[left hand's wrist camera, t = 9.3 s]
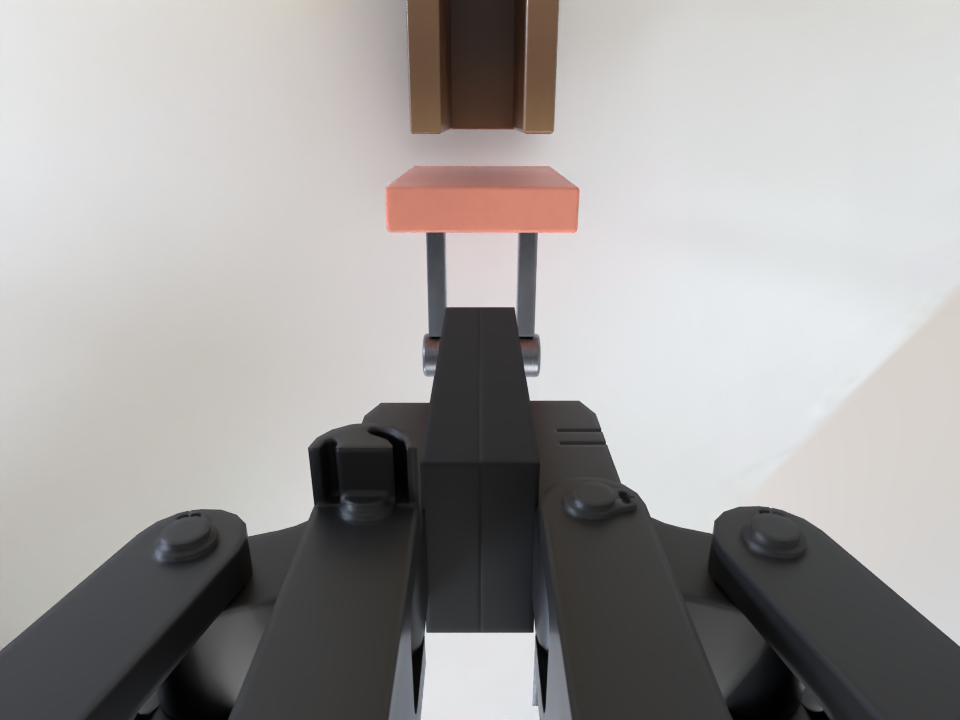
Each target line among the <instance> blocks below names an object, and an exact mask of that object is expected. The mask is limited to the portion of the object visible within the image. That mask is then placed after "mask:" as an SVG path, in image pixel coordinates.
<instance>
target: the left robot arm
mask: <svg viewBox="0 0 960 720" xmlns="http://www.w3.org/2000/svg"><path fill="white" fill-rule="evenodd" d="M308 451H309V460H310V469H311V478H312V487H313V496H314V508H313V510H312V513H311V515H310V518H309V520H308V521H306V522H304V523H301V524H299V525H297V526H294V527H290V528H286V529H283V530H279V531H274V532H269V533H264V534H259V535H254V536H249V537H248V535H247V529H246V524H245V523H244V522H243V521H242V520H241V519H240V518H239V517H238V516H237V515H236V514H232V513H229V512H226V511H223V510H209V509H200V510H191V511H186V512H182V513H178V514H175V515H173V516H171V517H168V518H166V519H163V520H160V521H158V522H156V523H154V524H153V525H151V526H150V527H148V528H147V529H145V530H144V531H142V532H141V533H139V534H138V535H137V536H135V537H134V538H133V539H132V540H131V541H130V542H128V543H127V544H126V545H125V546H124V547H122V548H121V549H120V550H119V551H118V552H117V553H115V554H114V555H113V556H112V557H111V558H110V559H108V560H107V561H106V562H105V563H104V564H102V565H101V566H100V567H99V568H98V569H97V570H95V571H94V572H93V573H92V574H91V575H89V576H88V577H87V578H86V579H85V580H84V581H82V582H81V583H80V584H79V585H78V586H77V587H75V588H74V589H73V590H72V591H71V592H69V593H68V594H67V595H66V596H65V597H64V598H62V599H61V600H60V601H59V602H58V603H57V604H55V605H54V606H53V607H52V608H51V609H49V610H48V611H47V612H46V613H45V614H44V615H42V616H41V617H40V618H39V619H38V620H37V621H35V622H34V623H33V624H32V625H31V626H29V627H28V628H27V629H26V630H25V631H24V632H22V633H21V634H20V635H19V636H18V637H16V638H15V639H14V640H13V641H12V642H11V643H9V644H8V645H7V646H6V647H5V648H4V649H2V650H1V651H0V720H420V718H421V708H422V697H423V686H424V675H425V665H426V661H425V636H424V633H425V624H426V631H427V633H533V631H534V620H535V630H536V636H535V661H534V686H533V706H538V707H539V717H540V720H960V646H958V645H957V644H956V643H955V642H954V641H953V640H951V639H950V638H949V637H948V636H947V635H945V634H944V633H943V632H942V631H941V630H939V629H938V628H937V627H936V626H935V625H934V624H932V623H931V622H930V621H929V620H928V619H926V618H925V617H924V616H923V615H922V614H920V613H919V612H918V611H917V610H916V609H915V608H913V607H912V606H911V605H910V604H909V603H907V602H906V601H905V600H904V599H903V598H901V597H900V596H899V595H898V594H897V593H896V592H894V591H893V590H892V589H891V588H890V587H888V586H887V585H886V584H885V583H884V582H882V581H881V580H880V579H879V578H878V577H877V576H875V575H874V574H873V573H872V572H871V571H869V570H868V569H867V568H866V567H865V566H863V565H862V564H861V563H860V562H859V561H857V560H856V559H855V558H854V557H853V556H852V555H850V554H849V553H848V552H847V551H846V550H844V549H843V548H842V547H841V546H840V545H839V544H837V543H836V542H835V541H834V540H833V539H831V538H830V537H829V536H828V535H827V534H825V533H824V532H823V531H822V530H820V529H819V528H817V527H816V526H814V525H812V524H811V523H809V522H808V521H806V520H805V519H803V518H800V517H798V516H795V515H792V514H790V513H787V512H785V511H783V510H779V509H775V508H772V509H771V508H769V507H761V506H753V507H737V508H734V509H731V510H728V511H725V512H723V513H722V514H721V515H720V516H719V517H718V518H717V519H716V520H715V522H714V529H713V534H710V533H705V532H700V531H695V530H690V529H685V528H680V527H677V526H673V525H669V524H666V523H663V522H661V521H658V520H656V519H654V518H651V517H650V514H649V512H648V509H647V507H646V504H645V503H644V502H643V500H642V499H641V498H640V496H639V495H638V494H637V493H636V492H634V491H633V490H631V489H629V488H628V487H626V486H625V485H623V484H621V482H620V479H619V476H618V474H617V471H616V468H615V466H614V463H613V460H612V457H611V455H610V452H609V449H608V446H607V445H606V441H605V438H604V436H603V433H602V432H601V427H600V425H599V422H598V419H597V417H596V414H595V413H594V412H593V411H591V410H590V409H589V408H587V407H586V406H585V405H584V404H582V403H581V402H580V401H530V399H529V393H528V387H527V381H526V375H525V369H524V363H523V357H522V351H521V345H520V339H519V333H518V326H517V320H516V314H515V308H514V307H446V308H445V314H444V320H443V326H442V333H441V339H440V345H439V351H438V357H437V363H436V369H435V375H434V381H433V387H432V393H431V399H430V403H380V404H379V405H378V406H377V407H375V408H374V409H373V410H372V411H370V412H369V413H368V414H367V415H365V416H364V419H363V422H362V424H352V425H347V426H344V427H340V428H337V429H333V430H331V431H329V432H327V433H325V434H323V435H321V436H319V437H318V438H316V440H315V441H314V442H313V443H312V444H311V445H310V446H309V447H308Z"/></svg>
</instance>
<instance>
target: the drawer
mask: <svg viewBox="0 0 960 720" xmlns="http://www.w3.org/2000/svg"><path fill="white" fill-rule="evenodd" d="M406 11H407V41H408V71H409V101H410V131H411V133H412V134H440V133H442V132H445V131H447V130H450V129H516V130H518V131H521V132H523V133H526V134H551V133H553V131H554V116H555V90H556V65H557V39H558V14H559V0H406ZM385 204H386V225H387V230H388V231H389V232H426V241H427V279H428V316H429V334H425V336H424V339H423V371H424V375H425V376H434V375H435V369H436V363H437V357H438V351H439V345H440V339H441V333H442V326H443V320H444V314H445V308H446V307H447V283H446V232H480V233H518V267H517V312H516V320H517V326H518V333H519V339H520V345H521V351H522V357H523V363H524V369H525V375H526V377H537V376H538V375H539V372H540V338H539V335H538V334H534V327H535V297H536V266H537V235H538V233H574V232H576V231H577V225H578V206H579V188H578V187H576V186H575V185H574V184H572V183H571V182H570V181H568V180H567V179H566V178H564V177H563V176H562V175H560V174H559V173H558V172H556V171H555V170H554V169H552V168H551V167H547V166H415V167H413V168H412V169H410V170H409V171H408V172H406V173H405V174H403V175H402V176H401V177H399V178H398V179H397V180H395V181H394V182H393V183H391V184H390V185H389V186H387V187H386V188H385Z"/></svg>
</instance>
